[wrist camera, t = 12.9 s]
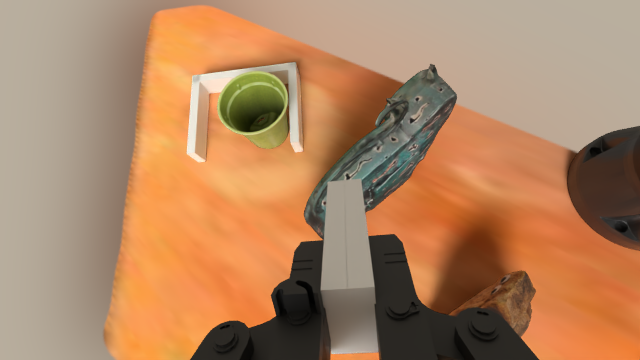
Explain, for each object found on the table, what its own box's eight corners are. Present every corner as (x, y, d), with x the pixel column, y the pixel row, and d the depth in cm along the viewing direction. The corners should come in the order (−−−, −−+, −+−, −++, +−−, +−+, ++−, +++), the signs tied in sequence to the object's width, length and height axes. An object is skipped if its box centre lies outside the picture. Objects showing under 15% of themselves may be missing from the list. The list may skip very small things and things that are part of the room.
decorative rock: (490, 268, 42) (530, 262, 31) (528, 310, 40) (584, 319, 29) (415, 329, 41) (432, 343, 30) (451, 376, 39) (481, 408, 28)
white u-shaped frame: (300, 75, 54) (295, 61, 50) (303, 151, 50) (298, 141, 46) (202, 88, 55) (192, 75, 52) (198, 162, 51) (186, 153, 48)
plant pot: (277, 93, 53) (261, 57, 45) (312, 133, 50) (301, 104, 42) (229, 128, 52) (204, 98, 44) (262, 171, 49) (241, 148, 41)
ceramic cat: (407, 129, 49) (434, 29, 30) (442, 158, 47) (494, 71, 28) (306, 222, 46) (266, 178, 27) (338, 257, 44) (318, 236, 25)
